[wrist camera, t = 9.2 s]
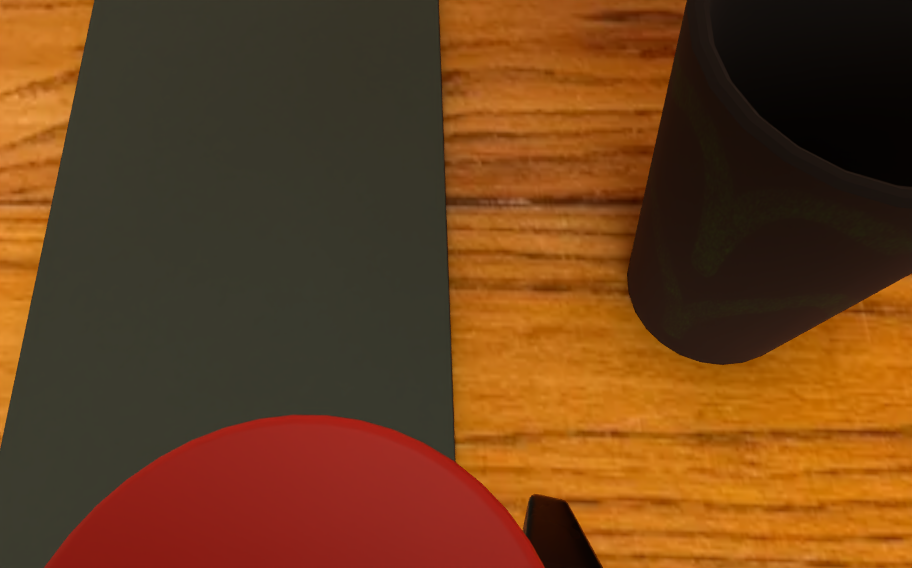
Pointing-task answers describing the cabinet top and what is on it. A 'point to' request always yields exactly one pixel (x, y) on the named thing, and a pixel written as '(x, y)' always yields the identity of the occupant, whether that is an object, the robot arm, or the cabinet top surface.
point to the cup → (776, 173)
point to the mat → (232, 245)
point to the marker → (299, 505)
